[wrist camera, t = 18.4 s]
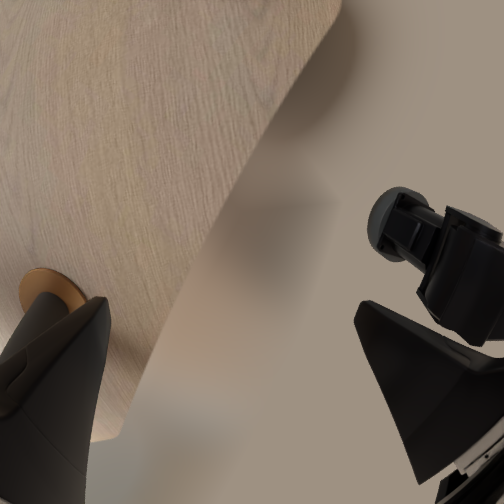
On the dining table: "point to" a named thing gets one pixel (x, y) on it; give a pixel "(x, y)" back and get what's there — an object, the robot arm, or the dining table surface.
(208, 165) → the dining table surface
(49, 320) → the salt mill
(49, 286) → the coaster
